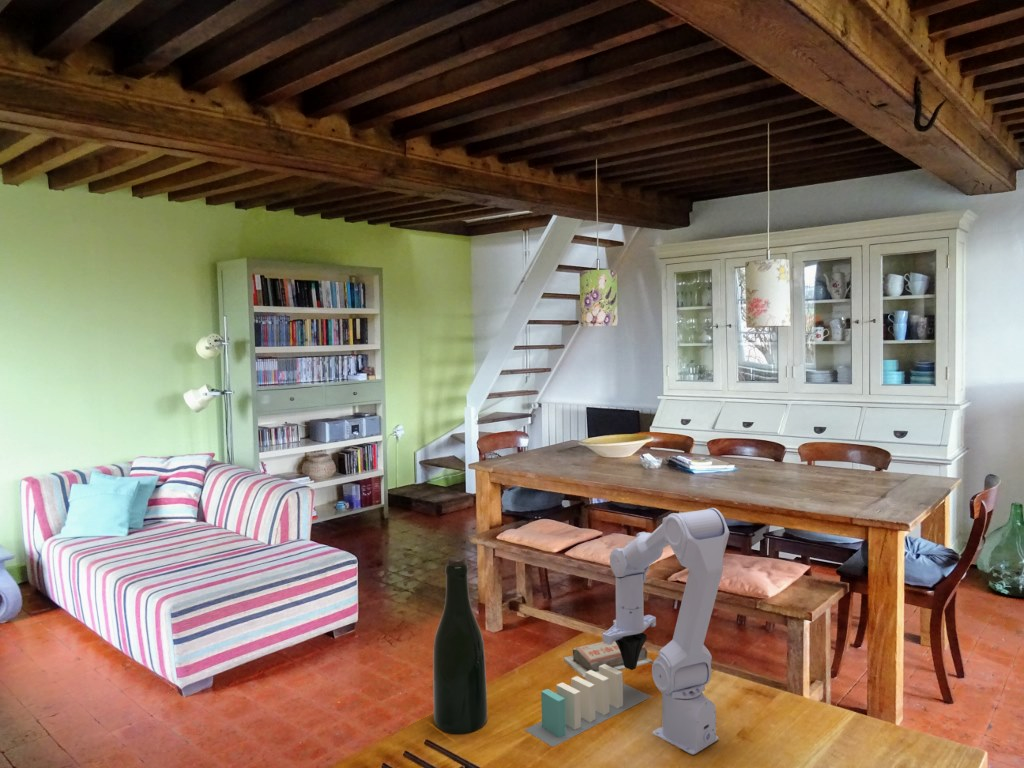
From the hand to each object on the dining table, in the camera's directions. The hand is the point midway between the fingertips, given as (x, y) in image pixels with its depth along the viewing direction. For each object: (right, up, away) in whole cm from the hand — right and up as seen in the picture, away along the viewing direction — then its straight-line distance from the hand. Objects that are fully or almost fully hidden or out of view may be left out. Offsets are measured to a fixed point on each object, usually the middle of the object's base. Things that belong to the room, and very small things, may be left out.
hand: (630, 667), depth 155 cm
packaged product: (-3, -6, +15) cm, 17 cm away
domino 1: (-17, -7, -14) cm, 23 cm away
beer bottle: (-35, -7, -9) cm, 37 cm away
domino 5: (-4, -6, -4) cm, 8 cm away
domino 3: (-11, -6, -9) cm, 15 cm away
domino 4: (-8, -6, -6) cm, 11 cm away
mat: (-9, -7, -7) cm, 13 cm away
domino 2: (-14, -7, -11) cm, 19 cm away
